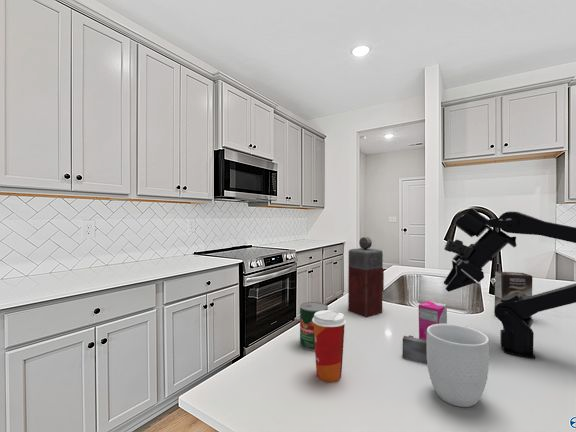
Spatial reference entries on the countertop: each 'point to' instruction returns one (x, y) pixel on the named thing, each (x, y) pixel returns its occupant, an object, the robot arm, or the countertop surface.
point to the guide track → (414, 349)
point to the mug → (457, 363)
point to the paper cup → (329, 344)
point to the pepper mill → (365, 279)
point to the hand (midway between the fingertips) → (445, 287)
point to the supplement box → (431, 316)
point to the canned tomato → (309, 323)
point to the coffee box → (512, 285)
